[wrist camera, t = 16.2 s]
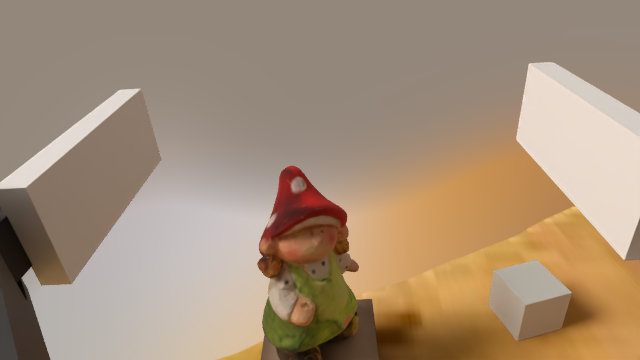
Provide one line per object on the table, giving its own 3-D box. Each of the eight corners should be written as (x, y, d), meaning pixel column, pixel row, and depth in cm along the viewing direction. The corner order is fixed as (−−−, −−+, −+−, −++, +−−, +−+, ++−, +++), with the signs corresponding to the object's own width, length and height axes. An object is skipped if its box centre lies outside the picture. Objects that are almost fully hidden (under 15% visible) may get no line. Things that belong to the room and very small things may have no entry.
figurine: (328, 401, 40) (311, 225, 30) (251, 368, 44) (212, 201, 34) (371, 317, 48) (368, 156, 38) (303, 295, 52) (284, 143, 42)
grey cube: (528, 294, 58) (536, 259, 55) (561, 329, 52) (572, 292, 49) (487, 305, 56) (493, 270, 53) (517, 341, 51) (525, 305, 48)
